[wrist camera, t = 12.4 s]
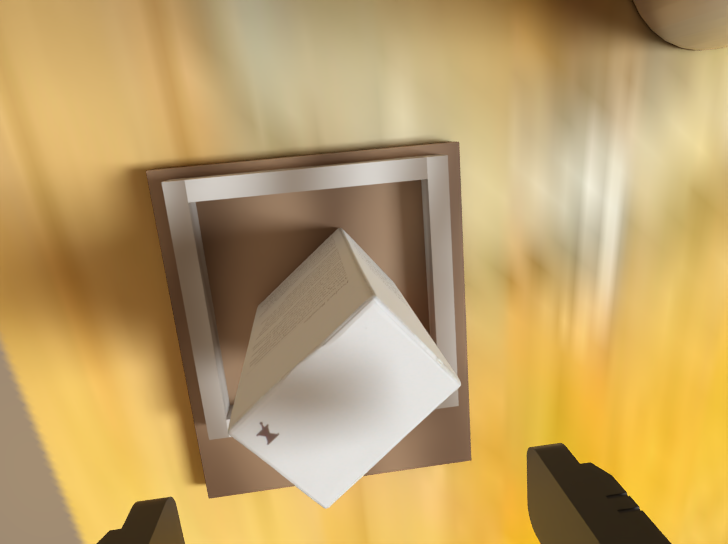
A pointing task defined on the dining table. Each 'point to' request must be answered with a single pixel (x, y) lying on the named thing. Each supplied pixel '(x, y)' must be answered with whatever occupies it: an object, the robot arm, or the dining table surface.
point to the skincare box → (335, 372)
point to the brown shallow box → (289, 250)
